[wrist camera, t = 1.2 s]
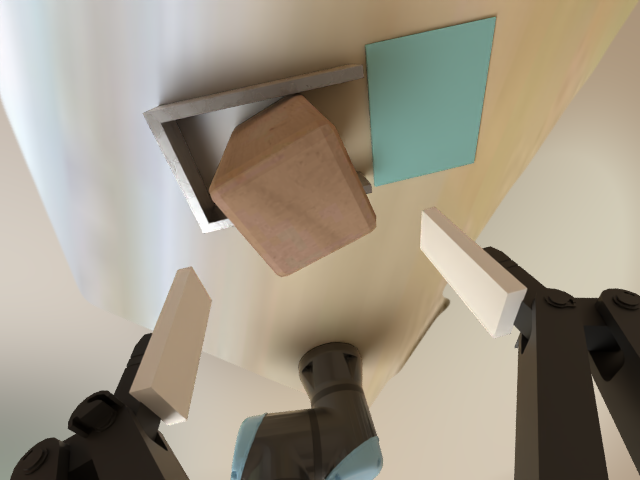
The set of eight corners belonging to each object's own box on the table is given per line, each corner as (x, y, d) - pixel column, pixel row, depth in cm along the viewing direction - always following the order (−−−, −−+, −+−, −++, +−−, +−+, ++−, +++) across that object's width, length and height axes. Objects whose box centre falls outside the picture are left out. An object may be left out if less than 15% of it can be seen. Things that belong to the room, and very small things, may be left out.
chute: (361, 179, 41) (372, 192, 37) (209, 215, 40) (203, 233, 36) (350, 64, 33) (362, 64, 29) (158, 106, 32) (142, 113, 28)
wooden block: (298, 87, 33) (332, 115, 17) (333, 158, 39) (384, 230, 22) (229, 129, 35) (199, 194, 18) (273, 192, 40) (280, 285, 24)
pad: (472, 162, 43) (473, 162, 43) (374, 185, 42) (375, 186, 42) (493, 16, 33) (496, 16, 33) (365, 44, 32) (366, 44, 32)
